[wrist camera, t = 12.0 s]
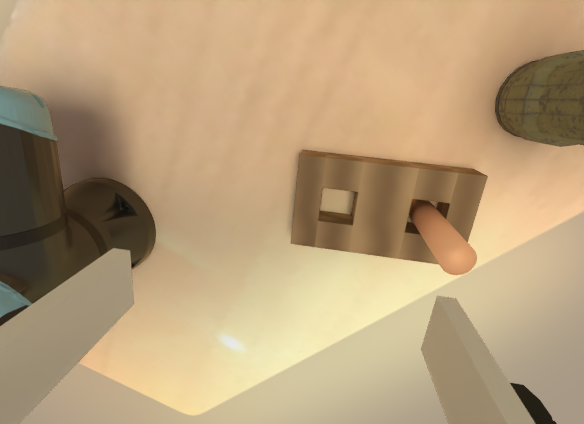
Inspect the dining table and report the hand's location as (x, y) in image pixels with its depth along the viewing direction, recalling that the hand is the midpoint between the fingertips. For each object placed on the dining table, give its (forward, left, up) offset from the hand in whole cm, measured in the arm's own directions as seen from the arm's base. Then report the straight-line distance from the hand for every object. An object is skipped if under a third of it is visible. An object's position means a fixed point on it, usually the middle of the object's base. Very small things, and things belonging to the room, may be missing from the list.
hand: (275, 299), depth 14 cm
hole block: (+9, -4, -32) cm, 33 cm away
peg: (+14, -4, -32) cm, 35 cm away
